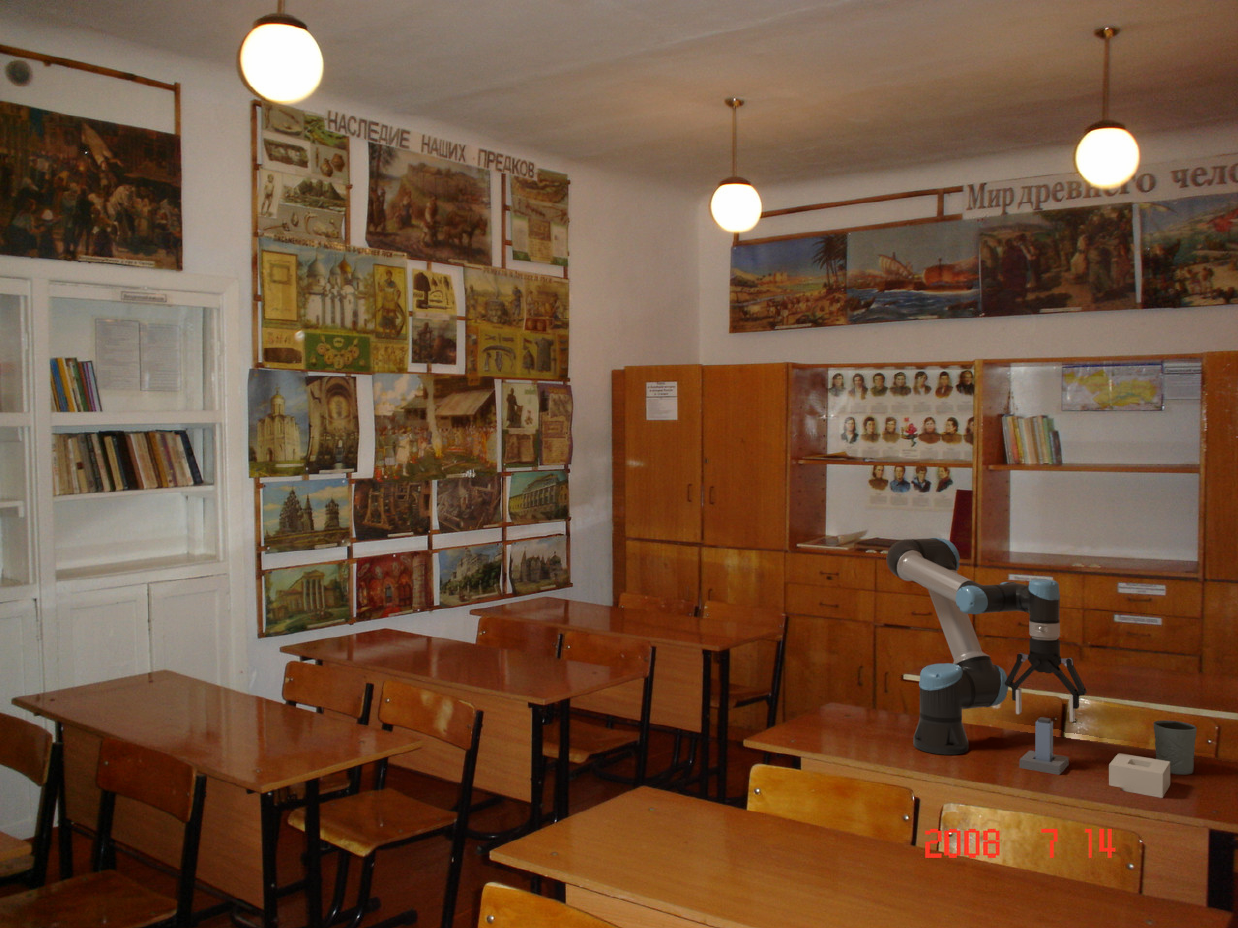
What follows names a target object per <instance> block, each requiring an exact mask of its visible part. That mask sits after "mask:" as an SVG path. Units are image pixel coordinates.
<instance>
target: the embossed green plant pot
mask: <svg viewBox="0 0 1238 928" xmlns="http://www.w3.org/2000/svg"><path fill="white" fill-rule="evenodd" d="M1197 729H1198V728H1197V726H1195V725H1193V724H1190V723H1187V722H1183V721H1177V720H1166V719H1165V720H1156V721H1155V720H1154V721H1153V731H1154V747H1155V759H1158V760H1164V761H1170V774H1171V775H1172V774H1173V775H1182V776H1183V775H1191V774H1193V772H1194V763H1195V761H1194V759H1195V758H1194V757H1195V749H1196V748H1195V747H1196V746H1195V745H1196V738H1197V737H1196V736H1197V731H1198V730H1197Z"/></svg>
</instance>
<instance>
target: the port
mask: <svg viewBox="0 0 1238 928" xmlns="http://www.w3.org/2000/svg"><path fill="white" fill-rule="evenodd" d="M1108 786H1111V787H1116V788H1121V789H1120V791H1122V792H1123V791H1124V792H1127V793H1134V794H1138V795H1143V796H1144V795H1145V796H1147V797H1148V796H1149V797H1155V798H1160V799H1163V798H1164V796H1165V795H1166V793H1167V791H1168V789H1169V787H1170V786H1171V773H1170V761H1164V760H1158V759H1156V758H1151V757H1144V756H1138V755H1132V754H1127V753H1121V752H1119V753H1117V755H1115V756H1114V758H1113V759H1112V760H1111V762H1109V764H1108Z"/></svg>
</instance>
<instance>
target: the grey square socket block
mask: <svg viewBox="0 0 1238 928" xmlns="http://www.w3.org/2000/svg"><path fill="white" fill-rule="evenodd" d="M1069 760H1070V759H1069V756H1065V755H1059V754H1054V753H1053V761H1052V762H1048V761H1043V760H1037V759H1035V751H1034V750H1028V751H1027V752H1026V753H1025V754H1024V755H1023V756H1022V757H1020V758H1019V769H1024V770H1028V771H1029V770H1031V771H1036V772H1041V773H1045V774H1046V773H1048V774H1052V775H1061V774H1062V773H1063V772H1064V771H1065V769H1067V768H1068V767H1069V765H1070V764H1069V763H1070V762H1069Z"/></svg>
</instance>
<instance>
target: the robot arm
mask: <svg viewBox="0 0 1238 928" xmlns="http://www.w3.org/2000/svg"><path fill="white" fill-rule="evenodd" d="M885 559H886V566H887V568H888V570H889V571H890V572H891V573H892V574H893V575H894V576H895V577H898V578H899V579H901V580H903V581H904V582H905V581H906V582H911V581H912V582H914V583H917V584H919V585H920V586H922V587H924V588H926V589H927V591H928V594H929V596H930V599H931V602H932V604H933V606H934V609H935V612H936V615H937V618H938V621H939V623H940V626H941V629H942V631H943V635H944V637H945V639H946V643H947V645H948V649H949V650H950V653H951V656H952V658H953V662H952V663H947V662H946V663H941V662H940V663H934V664H928V665H926V666H924V667H923V668H922V669H921V671H920V673H919V682H918V686H919V719H918V723H917V726H916V729H915V732H914V734H913V737H912V739H913V742H912V743H913V746H914V747H913V748H916V749H918V751H922V752H925V753H930V754H934V755H945V756H946V755H947V756H948V755H949V756H950V755H962V754H965V753H966V752H968V751H969V740H968V737H967V733H966V730H965V728H964V725H963V710H969V709H977V708H978V709H979V708H991V707H994V706H998V705H1000V704H1002V703H1003V702H1004V701H1005V699H1006V698H1007V695H1008V692H1009V688H1011V700H1012V701H1014V702H1015V715H1020V714H1021V713H1022V710H1023V709H1022V705H1023V704H1022V701H1023V700H1022V688H1021V687H1019V686H1021V685H1022V684H1023V683H1024V682H1025V681H1026V680H1027V679H1028V678H1029V677H1030V676H1031V675H1032V674H1033V672H1034V671H1035V672H1037V673H1045V674H1048V675H1049V674H1053V675H1054V676H1056V677H1057V679H1058V680H1059V681H1060V682H1061V683H1062V684H1063V685H1064V686H1065V688H1066V689H1067V691H1068V692H1069V693H1070V694H1071V695H1070V696H1069V722H1072V723H1073V722H1074V721H1075V720H1076V710H1078V709H1080V697H1081V696H1085V695H1086V694H1087V692H1088V691H1087V688H1086V687H1085V685H1084V682H1083V680H1082V679H1081V677H1080V675H1079V673H1078V671H1077V670H1076V668H1075V665H1074V658H1073V657H1068V658H1067V657H1066V658H1065V657H1064V658H1062V657H1061V640H1060V639H1059V638H1060V637H1061V630H1060V629H1061V626H1060V622H1061V621H1060V618H1061V617H1060V616H1061V615H1060V613H1061V612H1060V611H1061V610H1060V609H1061V608H1060V607H1061V606H1060V603H1061V599H1060V598H1061V595H1060V585H1059V583H1058V581H1056V580H1054V579H1045V578H1039V579H1038V578H1037V579H1036V578H1034V579H1030V580H1029V582H1028V584H1024V583H1018V582H1015V581H1004V582H1001V583H999V584H982V583H978V582H976V581H973V580H972V579H970V578H967V577H966V576H963V575H962V574H959V573H958V570H959V569H960V565H961V563H960V562H959V561H960V560H961V557H960V553H959V550H958V549H957V547H956V546H955V544H954V543H952V542H951V541H950V540H948V539H945V538H938V537H930V538H911V539H910V538H907V539H899V540H898V541H896V542H895V543H893V544H892V545H891V546H890V547H889V549H888V551H887V553H886V558H885ZM1001 612H1002V613H1003V612H1005V613H1006V612H1023V613H1027V614H1029V615H1028V616H1029V620H1028V621H1029V622H1028V623H1029V625H1028V627H1029V629H1028V631H1029V633H1028V634H1029V635H1030V638H1029V639H1028V640H1029V642H1028V644H1029V653H1028V654H1026V653H1024V652H1020V653H1017V654H1016V662H1015V663H1014V665H1013V667H1012V669H1011V671H1010V672H1009V674H1008V676H1007V673H1006V671H1005V670H1004V668H1002V667H1001V666H1000V665H997V664H994V663H993V661H992V658H991V656H990V654H989V655H988V654H987V653H985V652H984V651H982V650H983V649H982V648H981V644H980V642H979V639H978V637H977V634H976V631H975V629H974V625H973V624H972V622H971V618H970V617H969V615H970V614H971V615H980V614H990V613H1001ZM1027 660H1028V661H1029V663H1030V664H1031V665H1030V667H1028V668H1027V669H1026V670H1025V671H1024V673H1022V675H1020V677H1019V678H1018V679H1016V681H1015V682H1014V680H1015V678H1016V677H1017V674H1018V673H1019V670H1020V669H1021V667H1022V665H1023V663H1024V662H1026V661H1027ZM1061 664H1063V666H1064V667H1066V669H1067V671H1068V673H1069V675H1070V677H1071V679H1072V681H1073V683H1074V684H1073V683H1072V681H1071V680H1070V679H1069V678H1068V677H1067V676H1066V674H1065V673H1064V672H1063V669H1061V668H1060V666H1061Z"/></svg>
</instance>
